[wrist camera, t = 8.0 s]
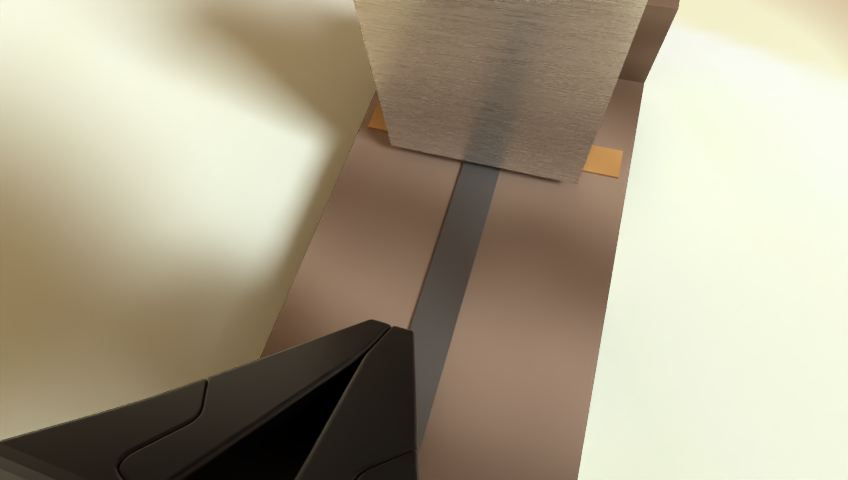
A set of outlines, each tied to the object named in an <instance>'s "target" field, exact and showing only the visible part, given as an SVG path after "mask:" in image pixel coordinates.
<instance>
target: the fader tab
mask: <svg viewBox="0 0 848 480" xmlns="http://www.w3.org/2000/svg"><path fill="white" fill-rule="evenodd" d="M353 1H354V5H355V9H356V13H357V16H358V20H359V24H360V28H361V32H362V36H363V39H364V43H365V47H366V51H367V55H368V59H369V62H370V66H371V70H372V74H373V78H374V82H375V85H376V89H377V93H378V97H379V101H380V104H381V108H382V112H383V116H384V120H385V124H386V127H387V131H388V135H389V139H390V143H391V145H392V146H397V147H402V148H406V149H411V150H416V151H421V152H426V153H430V154H435V155H440V156H445V157H450V158H454V159H459V160H464V161H469V162H473V163H478V164H483V165H488V166H493V167H497V168H502V169H507V170H512V171H517V172H521V173H526V174H531V175H536V176H540V177H545V178H550V179H555V180H560V181H564V182H569V183H574V184H578V181H579V178H580V176H581V173H582V171H583V168H584V165H585V163H586V160H587V158H588V155H589V152H590V150H591V147H592V145H593V142H594V139H595V137H596V134H597V132H598V129H599V126H600V124H601V121H602V119H603V116H604V113H605V111H606V108H607V106H608V103H609V100H610V98H611V95H612V93H613V90H614V87H615V85H616V82H617V80H618V77H619V74H620V72H621V69H622V67H623V64H624V61H625V59H626V56H627V54H628V51H629V48H630V46H631V43H632V41H633V38H634V35H635V33H636V30H637V28H638V25H639V22H640V20H641V17H642V15H643V12H644V9H645V7H646V4H647V2H648V0H353Z"/></svg>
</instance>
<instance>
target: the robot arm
mask: <svg viewBox="0 0 848 480" xmlns="http://www.w3.org/2000/svg"><path fill="white" fill-rule="evenodd" d="M0 480H421V479H420V460H419V441H418V417H417V392H416V367H415V342H414V332H413V331H411V330H408V329H404V328H401V327H397V326H393V327H391V326H390V325H389V324H387V323H384V322H380V321H377V320H373V319H370V320H367V321H364V322H361V323H358V324H355V325H353V326H350V327H347V328H344V329H342V330H339V331H336V332H333V333H330V334H328V335H325V336H322V337H319V338H317V339H314V340H311V341H308V342H305V343H303V344H300V345H297V346H294V347H292V348H289V349H286V350H283V351H280V352H278V353H275V354H272V355H269V356H267V357H264V358H261V359H258V360H255V361H253V362H250V363H247V364H244V365H241V366H239V367H236V368H233V369H230V370H227V371H225V372H222V373H219V374H216V375H214V376H211V377H209V378H208V382H207V380H206V379H202V380H199V381H197V382H194V383H191V384H188V385H185V386H183V387H180V388H177V389H174V390H171V391H168V392H165V393H162V394H159V395H156V396H153V397H150V398H147V399H144V400H141V401H137V402H134V403H131V404H127V405H124V406H121V407H117V408H114V409H111V410H107V411H104V412H100V413H97V414H93V415H90V416H86V417H83V418H79V419H76V420H72V421H68V422H65V423H61V424H58V425H54V426H51V427H47V428H44V429H40V430H37V431H33V432H30V433H26V434H23V435H19V436H15V437H12V438H8V439H5V440H1V441H0Z"/></svg>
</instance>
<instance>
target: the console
mask: <svg viewBox="0 0 848 480" xmlns="http://www.w3.org/2000/svg"><path fill="white" fill-rule="evenodd" d="M678 7H679V0H648V2H647V4H646V7H645V9H644V12H643V15H642V17H641V20H640V22H639V25H638V28H637V30H636V33H635V35H634V38H633V41H632V43H631V46H630V48H629V51H628V54H627V56H626V59H625V61H624V64H623V67H622V69H621V72H620V74H619V77H618V80H617V82H616V85H615V87H614V90H613V93H612V95H611V98H610V100H609V103H608V106H607V108H606V111H605V113H604V116H603V119H602V121H601V124H600V126H599V129H598V132H597V134H596V137H595V139H594V142H593V145H592V147H591V150H590V152H589V155H588V158H587V160H586V163H585V165H584V168H583V171H582V173H581V176H580V178H579V181H578V184H574V183H569V182H564V181H560V180H555V179H550V178H545V177H540V176H536V175H531V174H526V173H521V172H517V171H512V170H507V169H502V168H497V167H493V166H488V165H483V164H478V163H473V162H469V161H464V160H459V159H454V158H450V157H445V156H440V155H435V154H430V153H426V152H421V151H416V150H411V149H406V148H402V147H397V146H392V145H391V143H390V139H389V135H388V131H387V127H386V124H385V120H384V116H383V112H382V108H381V104H380V101H379V97H378V93H377V90H376V92H375V94H374V97H373V99H372V101H371V104H370V106H369V108H368V111H367V113H366V115H365V118H364V120H363V122H362V124H361V127H360V129H359V131H358V134H357V136H356V138H355V141H354V143H353V145H352V147H351V150H350V152H349V154H348V157H347V159H346V161H345V164H344V166H343V168H342V171H341V173H340V175H339V177H338V180H337V182H336V184H335V187H334V189H333V191H332V194H331V196H330V198H329V201H328V203H327V205H326V207H325V210H324V212H323V214H322V217H321V219H320V221H319V224H318V226H317V228H316V231H315V233H314V235H313V237H312V240H311V242H310V244H309V247H308V249H307V251H306V254H305V256H304V258H303V260H302V263H301V265H300V267H299V270H298V272H297V274H296V277H295V279H294V281H293V284H292V286H291V288H290V290H289V293H288V295H287V297H286V300H285V302H284V304H283V307H282V309H281V311H280V314H279V316H278V318H277V320H276V323H275V325H274V327H273V330H272V332H271V334H270V337H269V339H268V341H267V343H266V346H265V348H264V350H263V353H262V355H261V357H260V359H261V358H264V357H267V356H269V355H272V354H275V353H278V352H280V351H283V350H286V349H289V348H292V347H294V346H297V345H300V344H303V343H305V342H308V341H311V340H314V339H317V338H319V337H322V336H325V335H328V334H330V333H333V332H336V331H339V330H342V329H344V328H347V327H350V326H353V325H355V324H358V323H361V322H364V321H367V320H370V319H373V320H377V321H380V322H384V323H387V324H389V325H390V326H391V327H393V326H397V327H401V328H404V329H408V330H411V331H413V332H414V342H415V367H416V392H417V417H418V441H419V460H420V479H421V480H577V478H578V473H579V467H580V461H581V455H582V449H583V443H584V437H585V431H586V425H587V419H588V413H589V407H590V401H591V395H592V389H593V383H594V378H595V372H596V366H597V360H598V354H599V348H600V342H601V336H602V330H603V324H604V318H605V312H606V306H607V300H608V294H609V288H610V283H611V277H612V271H613V265H614V259H615V253H616V247H617V241H618V235H619V229H620V223H621V217H622V211H623V205H624V199H625V193H626V188H627V182H628V176H629V170H630V164H631V158H632V152H633V146H634V140H635V134H636V128H637V122H638V116H639V110H640V104H641V98H642V93H643V87H644V82H645V80H646V78H647V76H648V73H649V71H650V69H651V67H652V65H653V63H654V60H655V58H656V56H657V54H658V52H659V50H660V47H661V45H662V43H663V41H664V39H665V36H666V34H667V32H668V30H669V28H670V26H671V23H672V21H673V19H674V17H675V15H676V12H677V10H678Z"/></svg>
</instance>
